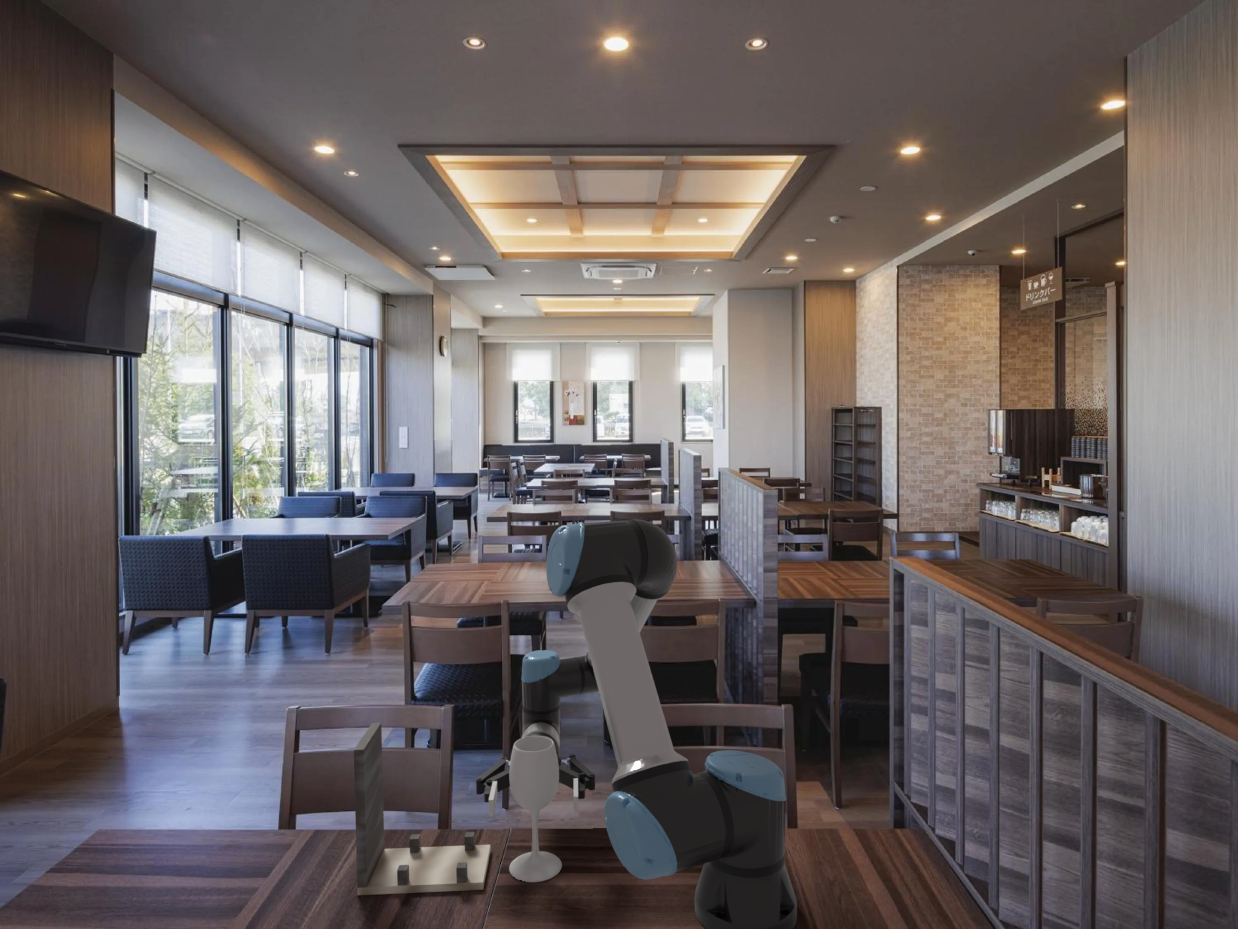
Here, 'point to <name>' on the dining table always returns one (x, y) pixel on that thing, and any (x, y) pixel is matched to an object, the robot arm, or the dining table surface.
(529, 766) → the wineglass
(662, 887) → the dining table surface
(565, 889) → the dining table surface
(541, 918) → the dining table surface
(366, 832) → the pegged display stand
